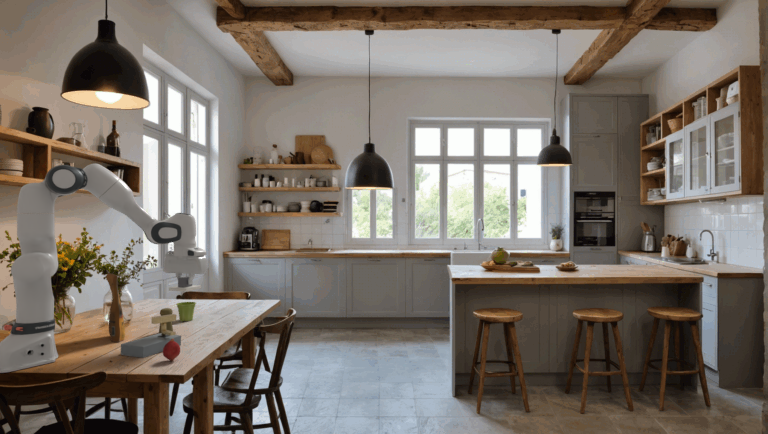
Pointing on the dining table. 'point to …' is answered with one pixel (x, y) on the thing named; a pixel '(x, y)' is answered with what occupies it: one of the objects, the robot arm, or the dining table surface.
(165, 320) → the t key
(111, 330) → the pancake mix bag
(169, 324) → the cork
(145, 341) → the case
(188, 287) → the cover
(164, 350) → the onion
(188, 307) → the plant pot
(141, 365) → the dining table surface
